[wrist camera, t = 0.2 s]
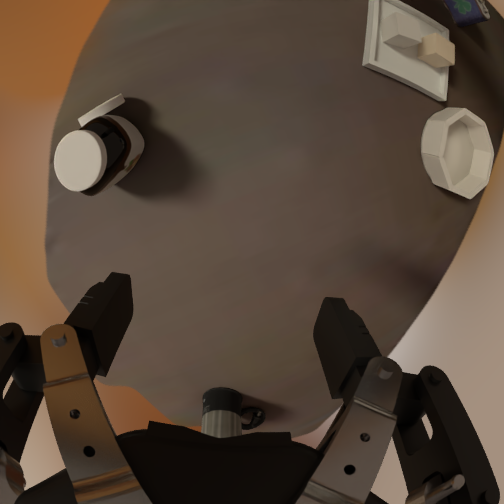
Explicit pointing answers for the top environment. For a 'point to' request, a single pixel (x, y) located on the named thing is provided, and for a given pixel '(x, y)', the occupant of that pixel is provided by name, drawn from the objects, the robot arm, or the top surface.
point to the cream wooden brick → (436, 51)
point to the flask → (467, 11)
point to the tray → (404, 50)
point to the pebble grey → (400, 30)
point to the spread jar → (98, 150)
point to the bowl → (457, 151)
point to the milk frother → (226, 413)
